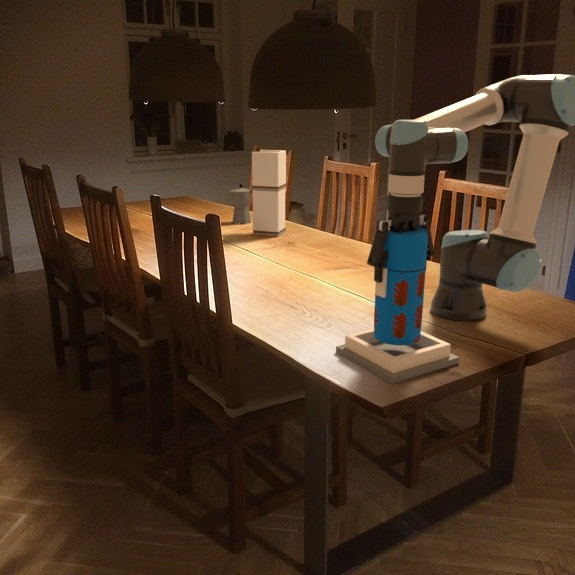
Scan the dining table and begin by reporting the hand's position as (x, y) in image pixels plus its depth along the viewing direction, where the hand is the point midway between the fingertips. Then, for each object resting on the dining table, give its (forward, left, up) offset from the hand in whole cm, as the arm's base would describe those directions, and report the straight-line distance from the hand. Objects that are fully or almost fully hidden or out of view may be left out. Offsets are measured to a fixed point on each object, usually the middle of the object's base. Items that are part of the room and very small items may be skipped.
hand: (399, 291), depth 142 cm
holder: (0, 0, -16) cm, 16 cm away
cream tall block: (+23, -135, -16) cm, 138 cm away
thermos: (0, 0, -11) cm, 11 cm away
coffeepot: (+34, -160, -16) cm, 164 cm away
